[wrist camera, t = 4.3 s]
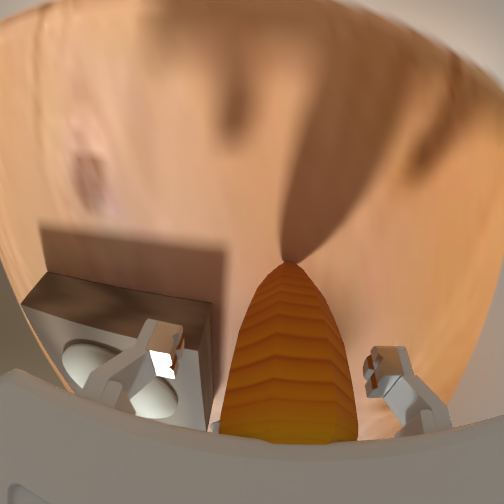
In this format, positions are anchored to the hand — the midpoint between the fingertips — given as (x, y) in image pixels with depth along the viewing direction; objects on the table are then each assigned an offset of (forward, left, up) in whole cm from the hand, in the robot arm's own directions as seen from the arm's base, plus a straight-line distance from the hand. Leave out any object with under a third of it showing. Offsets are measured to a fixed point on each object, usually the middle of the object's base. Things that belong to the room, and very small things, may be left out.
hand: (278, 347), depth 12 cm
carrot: (0, 0, -6) cm, 6 cm away
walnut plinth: (+11, +11, -6) cm, 17 cm away
